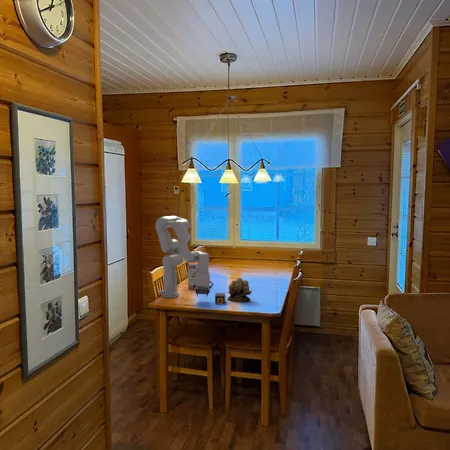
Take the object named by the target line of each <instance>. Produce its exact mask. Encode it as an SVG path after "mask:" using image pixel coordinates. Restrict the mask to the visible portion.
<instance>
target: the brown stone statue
mask: <svg viewBox="0 0 450 450" xmlns="http://www.w3.org/2000/svg"><path fill="white" fill-rule="evenodd" d="M228 290H229V291H227V293H228V294H229V296H228V297H227V301H229V302H233V303H248V302H251V298H250V297H249V296H250V295H251V294H252V293H253V291H252V290H250V284H249V281H248V280H246V279H245V280H243V278H242V277H240V276H239V277H238V278H236V280H232V281H231V283H230V284H229V285H228Z"/></svg>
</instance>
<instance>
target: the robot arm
mask: <svg viewBox="0 0 450 450" xmlns="http://www.w3.org/2000/svg"><path fill="white" fill-rule="evenodd" d="M190 225H191V224H190V222H189V220H187V219H185V218H182V217H180V216H178V215H168V216H167V215H165V216H161V217H159V218H158V219H157V220H156V222H155V230H156V233H157V236H158V240H159V245H160V248H161V251H162V252H163V253H165V254H166V255H165V256H163V258H162V261H161V262H162V266H163V289H162V290H161V289H159V290H158V291H157V292H158V293H159V294H161V296H162V298H167V299H169V298H170V299H172V298H173V299H174V298H178V297H179V296H180V294H179V292H178V290H177V289H178V286H177V285H178V282H177V281H178V279H177V278H178V275H177V269H176V267H177V266H179V265H182V264H183V262H184V261H186V263H198V268H196V270H197V273H196V280H195V281H193V282H192V283H191V284H192V285H193V287H194V288H195V289H194V290H195V292H194V293H195V295H196V296H197V287H198V286H207V288H208V289H207V296H208V295H209V294H210V290H211V289H212V287H214V286H215V284H214V282H213V281H211V276H210V275H211V274H210V271H209V265H210V262H209V261H210V254H209V253H207V252H203V251H200V250H194V251H191V250H190V249H189V246H188V242H189V241H190V240H191V238H192V236H191V234H190V233H189V231H188V230H189V229H190V227H191V226H190ZM167 228H172V229H173V231H174V233H175V235H176V236H177V238H178V239H176V238H171V237H172V236H171V234H170V232H169V231H168V229H167ZM169 253H170V254H169ZM194 283H195V285H196V286H195V285H194Z"/></svg>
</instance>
